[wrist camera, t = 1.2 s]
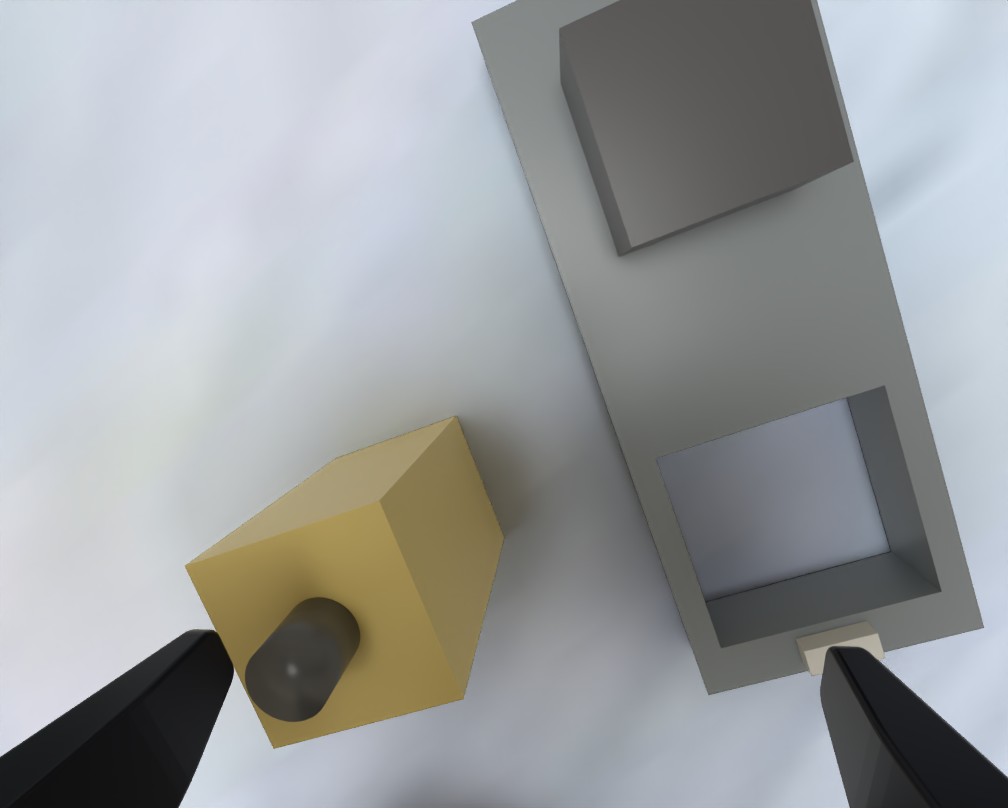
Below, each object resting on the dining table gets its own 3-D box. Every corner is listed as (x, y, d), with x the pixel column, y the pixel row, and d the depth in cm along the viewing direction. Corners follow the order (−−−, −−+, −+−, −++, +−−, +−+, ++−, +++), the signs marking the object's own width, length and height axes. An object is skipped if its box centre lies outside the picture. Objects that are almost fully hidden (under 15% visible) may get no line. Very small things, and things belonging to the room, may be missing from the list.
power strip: (690, 645, 20) (738, 777, 14) (485, 61, 17) (446, -49, 11) (928, 583, 18) (1079, 703, 13) (748, -61, 15) (846, -251, 10)
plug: (386, 574, 20) (232, 813, 11) (335, 458, 20) (127, 606, 10) (504, 537, 20) (447, 761, 10) (456, 415, 19) (348, 534, 10)
